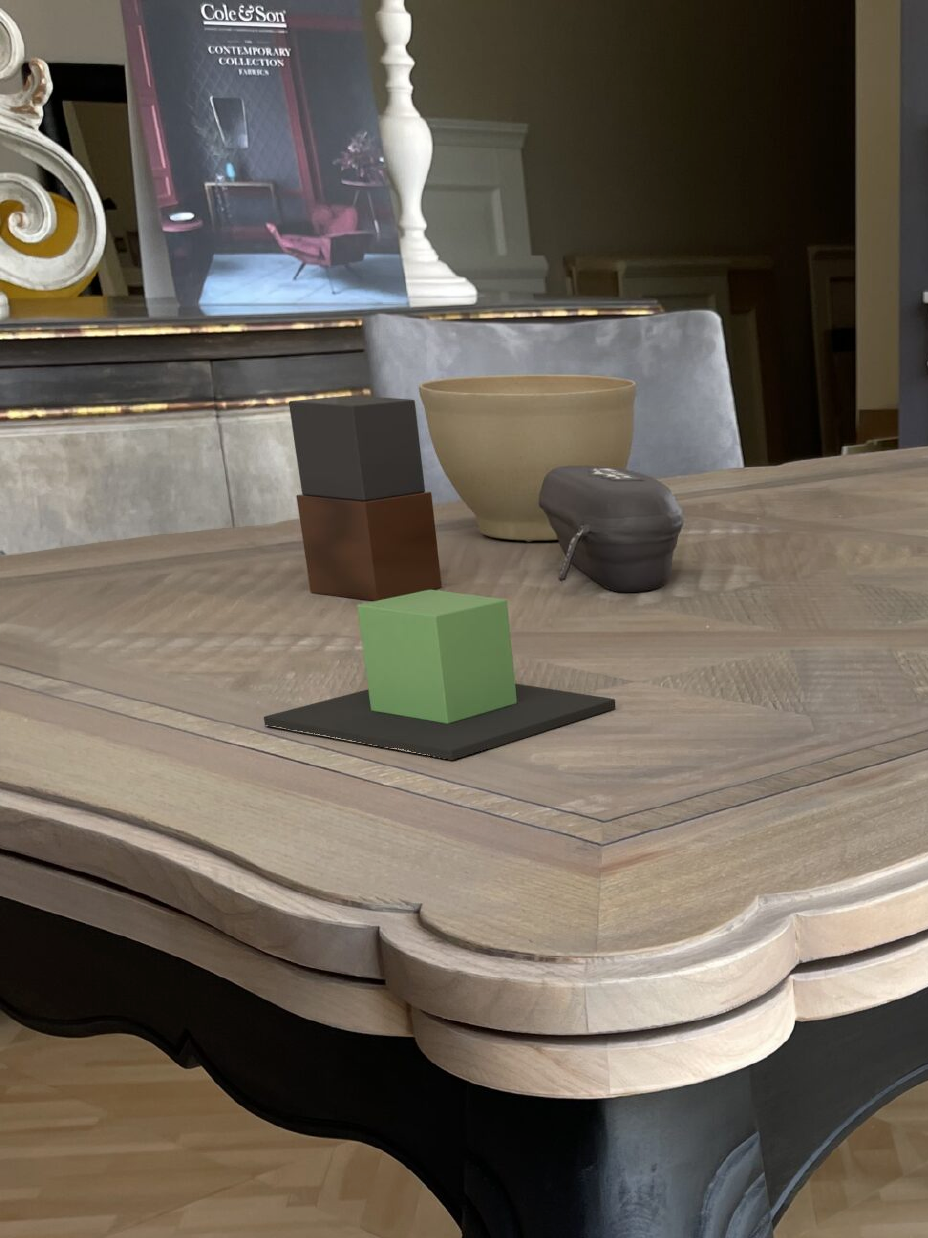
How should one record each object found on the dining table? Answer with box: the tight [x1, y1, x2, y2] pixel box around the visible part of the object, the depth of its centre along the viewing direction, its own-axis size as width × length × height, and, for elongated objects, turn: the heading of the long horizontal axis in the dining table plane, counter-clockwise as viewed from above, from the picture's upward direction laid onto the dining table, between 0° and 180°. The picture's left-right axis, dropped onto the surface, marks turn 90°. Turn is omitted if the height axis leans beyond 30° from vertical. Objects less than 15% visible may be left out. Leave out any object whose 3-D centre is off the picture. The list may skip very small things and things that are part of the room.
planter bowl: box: [418, 373, 637, 543], centre depth 139 cm, size 16×16×11 cm
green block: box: [356, 589, 517, 724], centre depth 87 cm, size 5×5×5 cm
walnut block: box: [295, 490, 443, 602], centre depth 118 cm, size 6×6×6 cm
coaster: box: [263, 683, 617, 761], centre depth 89 cm, size 12×12×1 cm
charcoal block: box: [288, 395, 426, 501], centre depth 115 cm, size 6×6×6 cm
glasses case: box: [538, 466, 684, 593], centre depth 124 cm, size 18×10×8 cm, turn 24°
